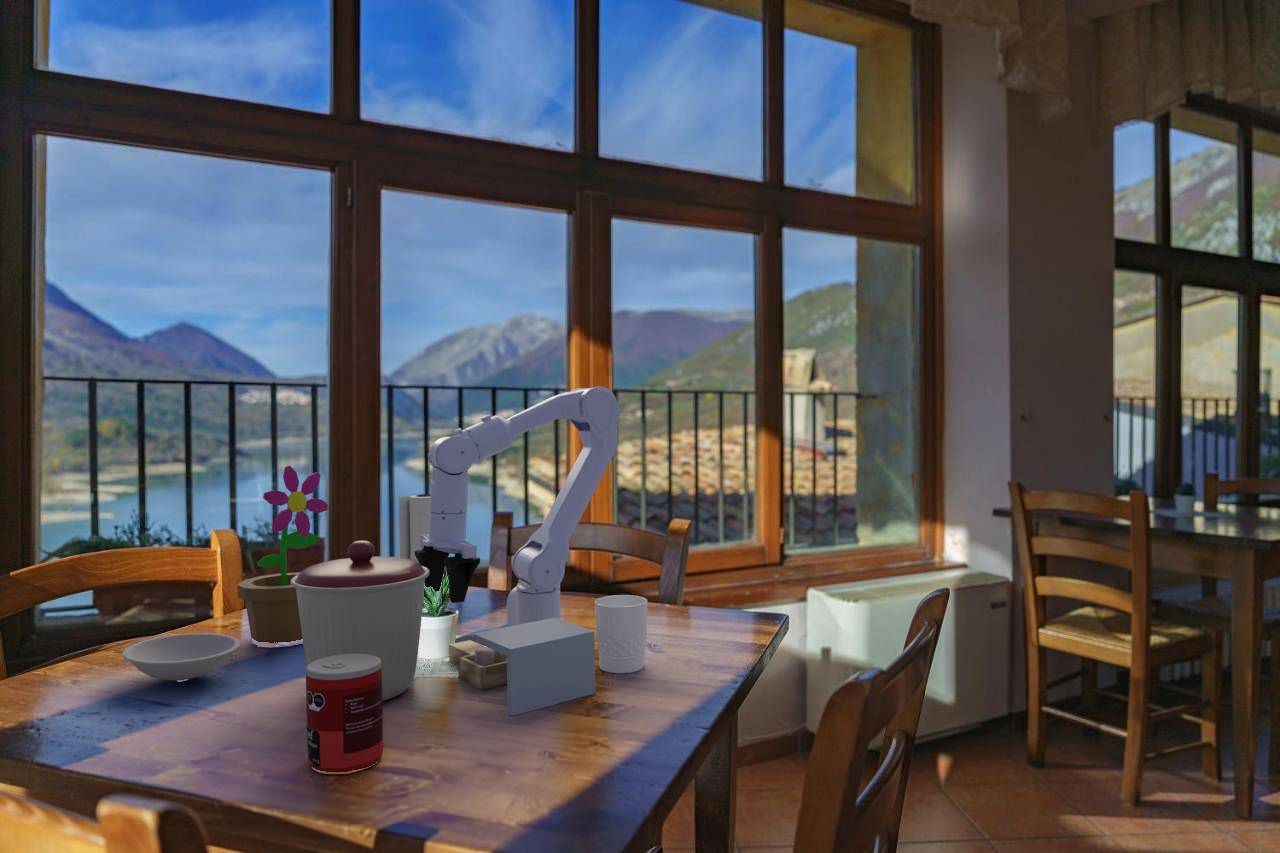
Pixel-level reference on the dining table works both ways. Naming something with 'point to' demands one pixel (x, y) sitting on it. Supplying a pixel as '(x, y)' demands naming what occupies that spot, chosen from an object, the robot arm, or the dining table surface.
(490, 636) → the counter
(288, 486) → the flowerpot
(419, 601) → the canister
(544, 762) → the dining table surface
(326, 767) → the canned food
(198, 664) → the dish
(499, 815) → the dining table surface
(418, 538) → the paper towel roll
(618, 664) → the white cup
